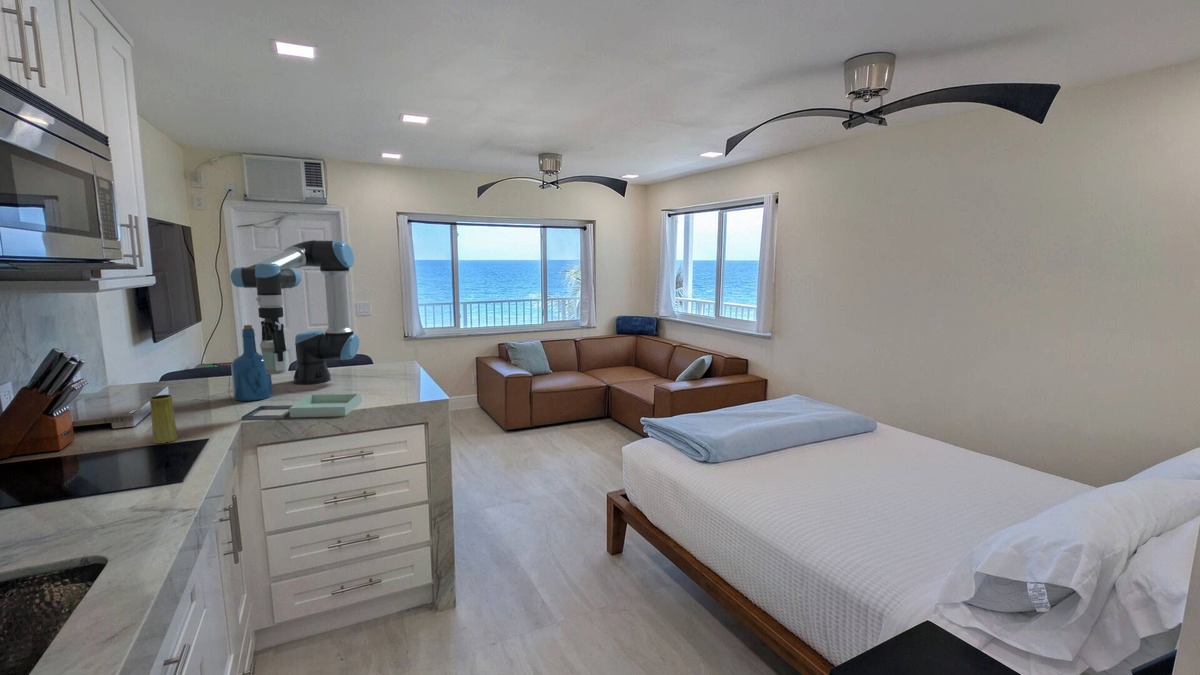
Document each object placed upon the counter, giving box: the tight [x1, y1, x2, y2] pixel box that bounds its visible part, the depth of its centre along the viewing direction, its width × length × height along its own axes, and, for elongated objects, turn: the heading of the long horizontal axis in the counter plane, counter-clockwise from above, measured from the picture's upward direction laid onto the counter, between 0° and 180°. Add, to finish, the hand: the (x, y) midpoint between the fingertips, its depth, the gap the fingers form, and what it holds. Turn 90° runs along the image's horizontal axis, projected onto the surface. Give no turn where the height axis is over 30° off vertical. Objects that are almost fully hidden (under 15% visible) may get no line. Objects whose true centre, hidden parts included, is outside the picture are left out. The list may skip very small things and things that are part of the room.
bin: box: [289, 392, 362, 418], centre depth 197 cm, size 19×19×4 cm
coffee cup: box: [259, 340, 288, 375], centre depth 188 cm, size 9×8×12 cm
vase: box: [149, 394, 179, 444], centre depth 160 cm, size 6×6×14 cm
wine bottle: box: [230, 324, 274, 402], centre depth 208 cm, size 14×13×30 cm
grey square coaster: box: [241, 404, 294, 421], centre depth 191 cm, size 14×14×1 cm
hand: (275, 368), depth 189 cm, fingers closed on coffee cup, 8 cm apart
